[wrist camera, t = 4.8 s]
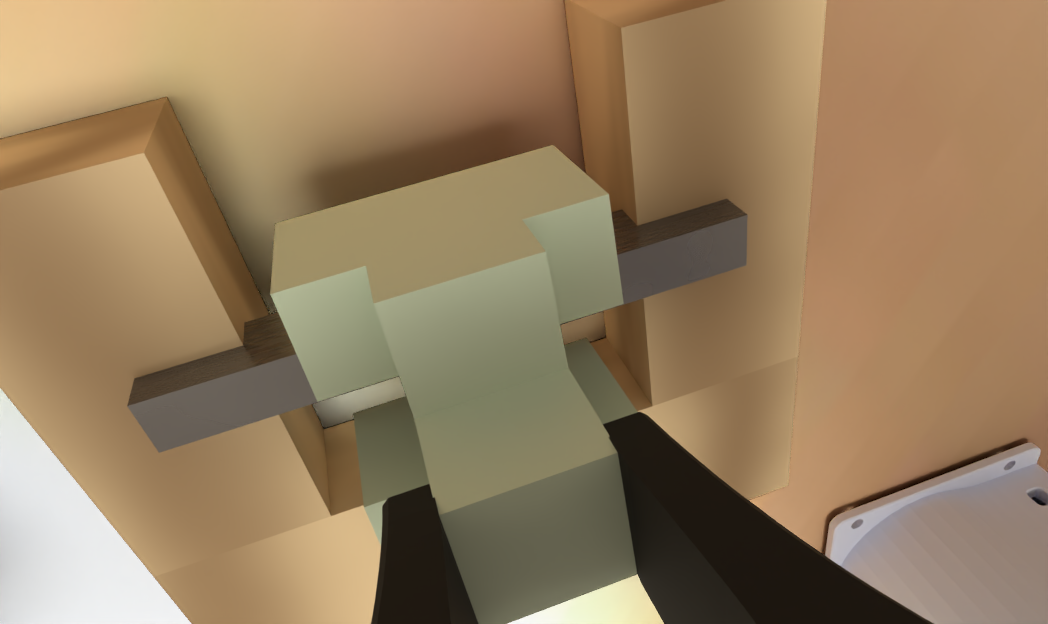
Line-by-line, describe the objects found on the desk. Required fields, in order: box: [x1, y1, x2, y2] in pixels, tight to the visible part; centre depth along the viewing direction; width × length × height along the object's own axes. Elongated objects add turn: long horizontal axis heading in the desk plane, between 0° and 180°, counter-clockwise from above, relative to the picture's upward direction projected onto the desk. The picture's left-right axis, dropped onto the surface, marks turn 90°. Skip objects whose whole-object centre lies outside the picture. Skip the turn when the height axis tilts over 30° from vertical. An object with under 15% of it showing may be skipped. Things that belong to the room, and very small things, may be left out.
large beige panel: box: [0, 0, 827, 624], centre depth 17 cm, size 16×14×4 cm
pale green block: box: [270, 145, 637, 624], centre depth 12 cm, size 5×6×6 cm
